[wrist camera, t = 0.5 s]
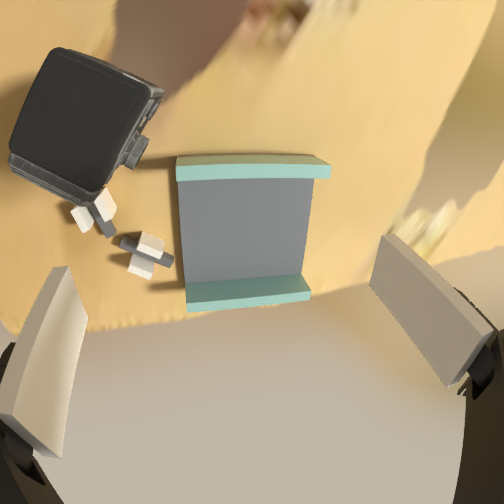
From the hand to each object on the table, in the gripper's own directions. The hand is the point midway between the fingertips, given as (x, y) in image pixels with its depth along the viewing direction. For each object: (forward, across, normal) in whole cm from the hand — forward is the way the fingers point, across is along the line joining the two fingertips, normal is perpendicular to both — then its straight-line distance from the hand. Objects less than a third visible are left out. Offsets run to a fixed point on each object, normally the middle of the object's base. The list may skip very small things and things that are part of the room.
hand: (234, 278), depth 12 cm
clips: (+24, -10, -9) cm, 27 cm away
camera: (+24, -10, +5) cm, 26 cm away
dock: (+24, +5, -9) cm, 26 cm away
